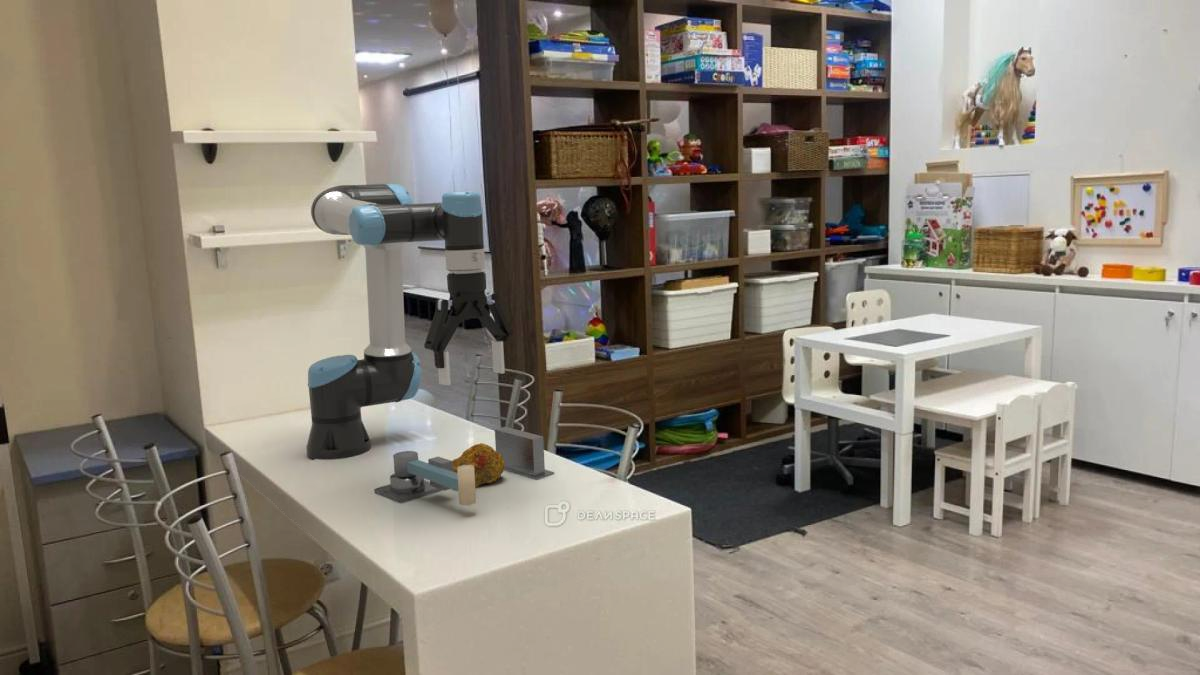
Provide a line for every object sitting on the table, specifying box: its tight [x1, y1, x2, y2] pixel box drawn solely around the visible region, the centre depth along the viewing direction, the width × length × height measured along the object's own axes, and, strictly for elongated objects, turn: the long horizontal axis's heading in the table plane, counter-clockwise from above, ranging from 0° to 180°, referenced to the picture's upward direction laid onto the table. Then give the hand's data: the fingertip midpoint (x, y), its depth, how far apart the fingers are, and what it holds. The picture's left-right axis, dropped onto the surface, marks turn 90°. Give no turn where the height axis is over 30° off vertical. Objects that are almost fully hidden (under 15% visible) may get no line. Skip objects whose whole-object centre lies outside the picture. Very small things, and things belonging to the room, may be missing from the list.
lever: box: [392, 450, 477, 506], centre depth 177 cm, size 25×6×7 cm, turn 45°
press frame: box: [373, 426, 555, 504], centre depth 188 cm, size 21×32×9 cm, turn 135°
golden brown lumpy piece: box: [451, 442, 505, 488], centre depth 189 cm, size 11×8×10 cm
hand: (472, 378), depth 176 cm, fingers open, 13 cm apart
